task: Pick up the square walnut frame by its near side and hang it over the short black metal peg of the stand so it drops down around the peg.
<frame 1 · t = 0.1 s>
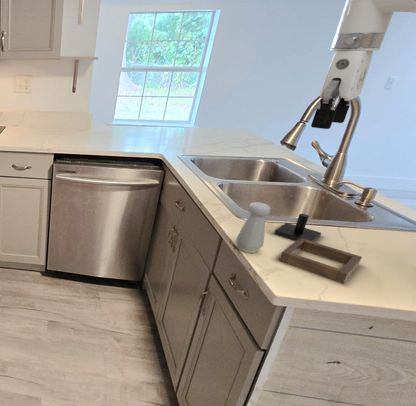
hand: (327, 124, 83), 32 cm above the worktop, tool pointing down, fingers open, 9 cm apart
salt shaker: (246, 249, 96), on the worktop
walnut frame: (317, 263, 89), on the worktop
peg stand: (297, 235, 102), on the worktop
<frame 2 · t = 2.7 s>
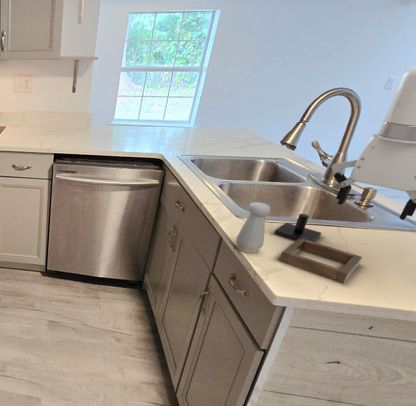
hand: (370, 210, 79), 16 cm above the worktop, tool pointing down, fingers open, 9 cm apart
nothing on the worktop moved.
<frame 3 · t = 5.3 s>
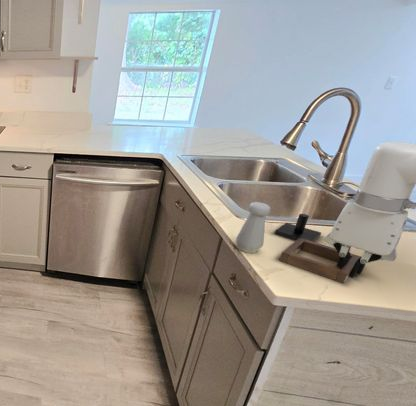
hand: (347, 272, 85), 0 cm above the worktop, tool pointing down, fingers closed on walnut frame, 1 cm apart
walnut frame: (317, 263, 89), on the worktop, touching gripper
everything else where it was.
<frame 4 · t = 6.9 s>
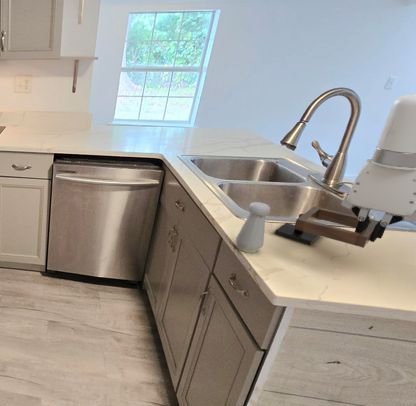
hand: (366, 237, 81), 10 cm above the worktop, tool pointing down, fingers closed on walnut frame, 1 cm apart
walnut frame: (334, 230, 85), point 9 cm above the worktop, touching gripper
everything else where it was.
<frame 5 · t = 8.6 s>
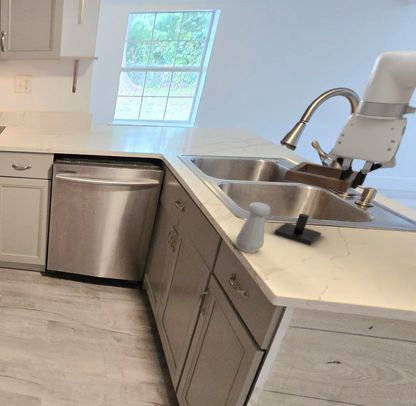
hand: (349, 185, 89), 17 cm above the worktop, tool pointing down, fingers closed on walnut frame, 1 cm apart
walnut frame: (320, 180, 93), point 17 cm above the worktop, touching gripper
everything else where it was.
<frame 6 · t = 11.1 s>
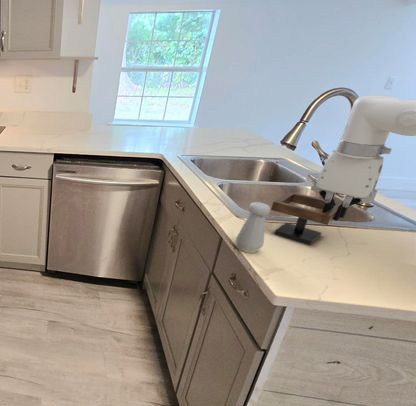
hand: (331, 217, 95), 8 cm above the worktop, tool pointing down, fingers closed on walnut frame, 1 cm apart
walnut frame: (305, 211, 99), point 7 cm above the worktop, touching gripper
everything else where it was.
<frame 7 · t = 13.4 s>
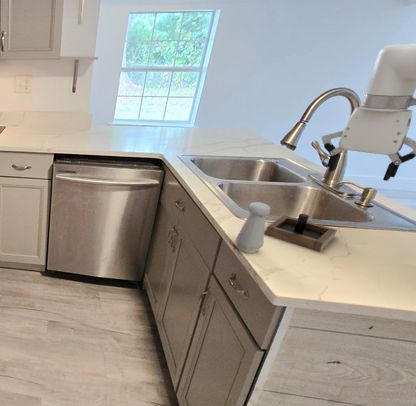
hand: (357, 174, 89), 20 cm above the worktop, tool pointing down, fingers open, 9 cm apart
walnut frame: (298, 236, 101), on the worktop
everything else where it was.
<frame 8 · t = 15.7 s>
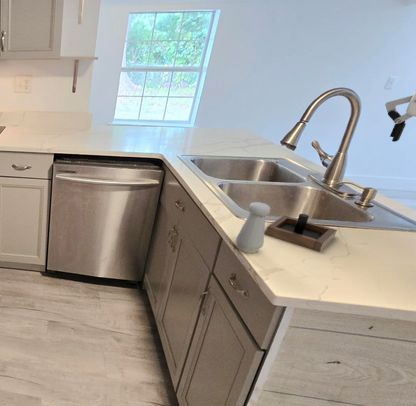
nothing on the worktop moved.
at the end: walnut frame inside the target area on the peg stand (0.5 cm from its centre), point 0.0 cm above the peg stand's base; the gripper is holding nothing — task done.
